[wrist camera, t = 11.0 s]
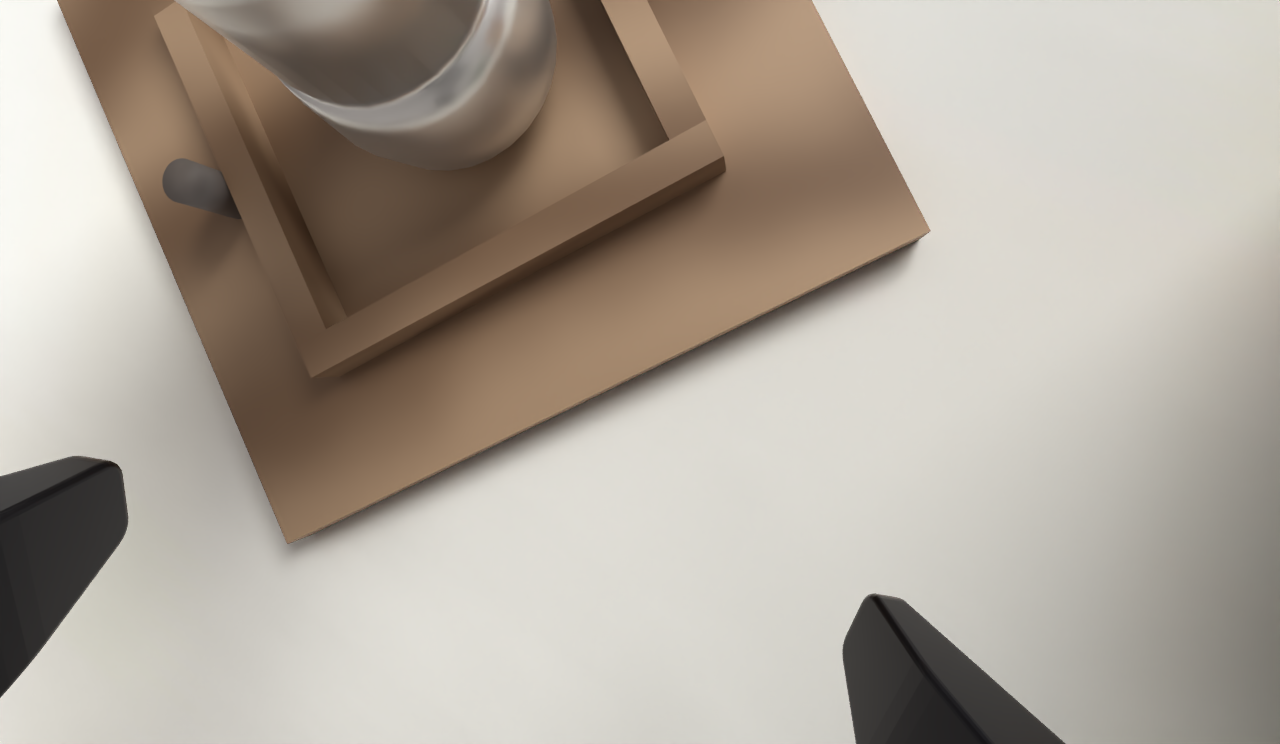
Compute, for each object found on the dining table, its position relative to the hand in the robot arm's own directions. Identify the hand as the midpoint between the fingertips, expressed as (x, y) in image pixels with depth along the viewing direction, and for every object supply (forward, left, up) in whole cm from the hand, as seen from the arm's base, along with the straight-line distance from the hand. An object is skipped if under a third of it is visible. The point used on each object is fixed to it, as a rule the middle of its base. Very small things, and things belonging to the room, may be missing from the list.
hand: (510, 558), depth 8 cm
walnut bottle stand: (+11, +4, -11) cm, 16 cm away
